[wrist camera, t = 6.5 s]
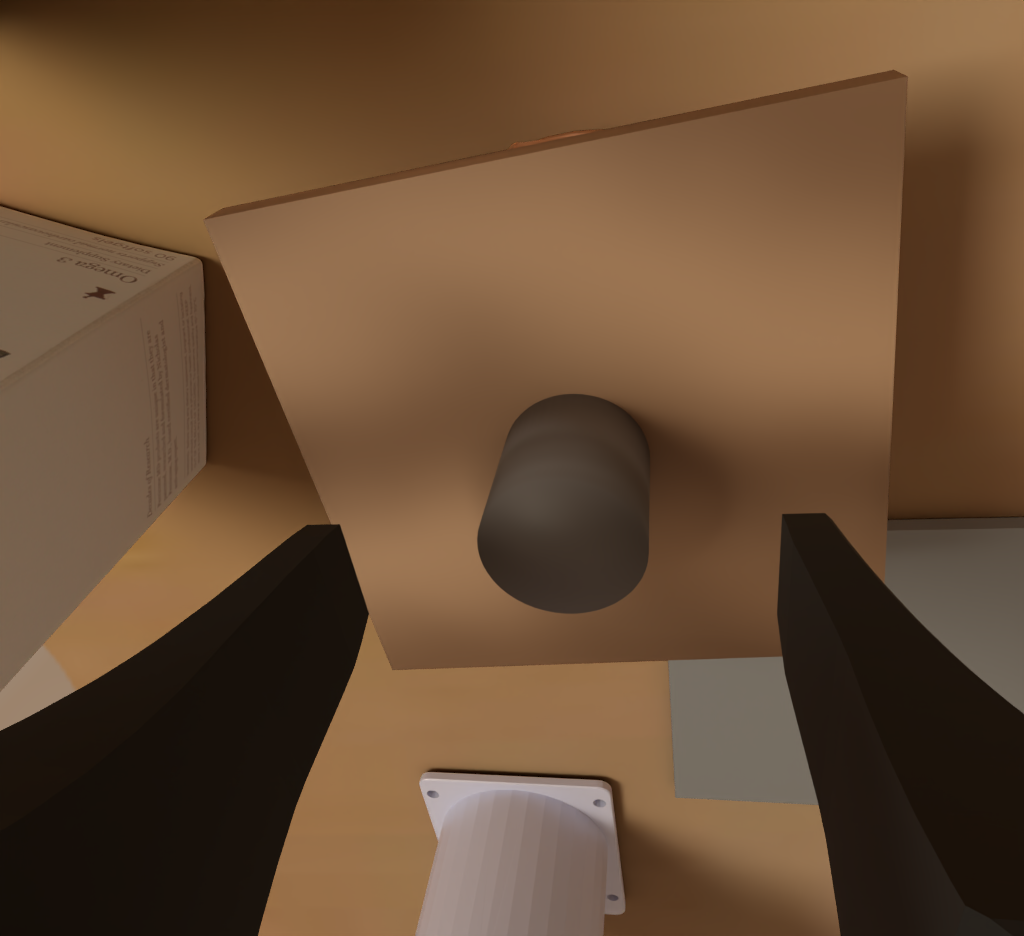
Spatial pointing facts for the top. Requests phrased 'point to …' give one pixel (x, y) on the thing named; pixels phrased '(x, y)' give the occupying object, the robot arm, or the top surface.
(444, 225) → the walnut cover
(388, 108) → the top surface
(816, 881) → the top surface
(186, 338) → the supplement box
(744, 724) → the slate mat
